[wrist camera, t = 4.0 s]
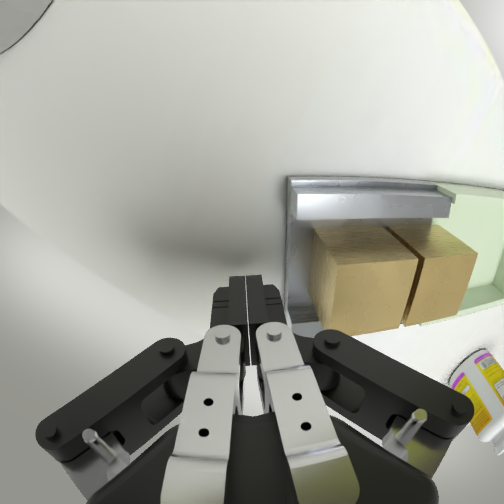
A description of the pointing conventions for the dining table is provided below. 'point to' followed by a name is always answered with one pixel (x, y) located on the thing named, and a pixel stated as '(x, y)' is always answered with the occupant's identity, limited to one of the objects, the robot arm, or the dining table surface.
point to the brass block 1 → (359, 278)
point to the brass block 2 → (435, 271)
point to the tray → (477, 242)
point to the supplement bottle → (483, 395)
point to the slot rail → (345, 224)
